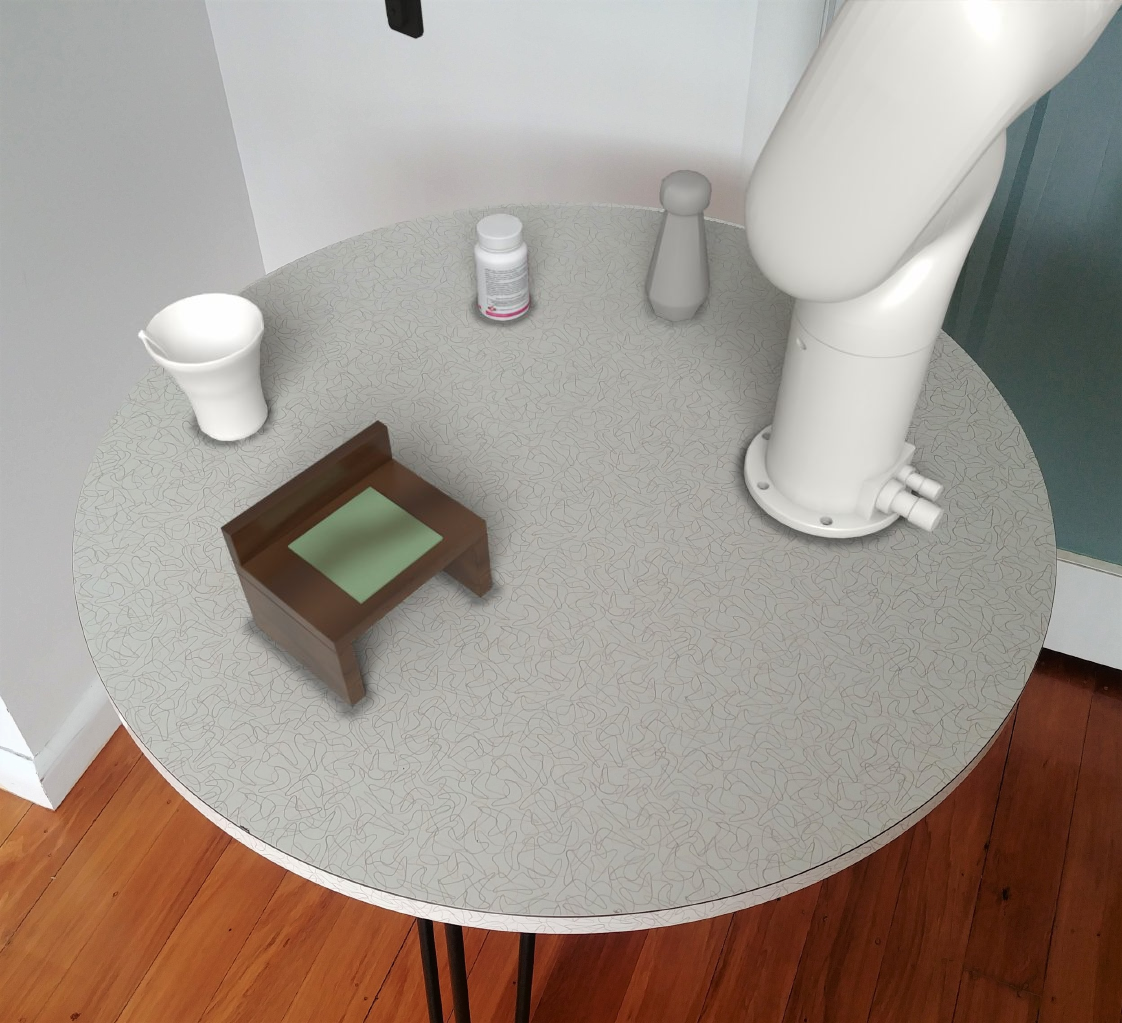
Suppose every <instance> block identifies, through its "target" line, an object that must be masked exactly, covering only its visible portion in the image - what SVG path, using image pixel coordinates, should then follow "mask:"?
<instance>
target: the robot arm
mask: <svg viewBox="0 0 1122 1023" xmlns="http://www.w3.org/2000/svg"><path fill="white" fill-rule="evenodd" d="M384 7H385V13H386V18H387V24H388V27H389V28H390V29H391V30H392V31H394V32H397V33H399V34H403V35H405V36H407V37H409V38H412V39H414V40H417V39H419V38H421V37H423V36H424V33H425V28H424V27H425V26H424V20H423V9H422V0H384ZM1121 7H1122V0H844V1H843V3H842V4H841V6H840V7H839V9H838V10H837V12H836V14H835V15H834V17H833V18H832V20H831V22H830V24H829V25H828V26H827V29H826V30H825V32H824V34H823V36H822V38H821V39H820V41H819V43H818V44H817V47H816V49H815V50H814V52H813V54H812V56H811V58H810V60H809V62H808V63H807V65H806V67H805V69H804V71H803V73H802V75H801V77H800V78H799V80H798V82H797V84H796V86H795V88H794V89H793V92H792V93H791V95H790V97H789V99H788V101H787V103H786V104H785V107H784V109H783V110H782V111H781V114H780V116H779V118H778V120H777V121H776V123H775V125H774V126H773V129H772V130H771V132H770V135H769V136H768V138H767V140H766V141H765V143H764V146H763V147H762V149H761V151H760V153H759V155H758V157H757V159H756V161H755V164H754V166H753V168H752V171H751V174H750V176H749V179H748V183H747V186H746V191H745V196H744V201H743V202H744V204H743V222H744V223H743V226H744V233H745V238H746V242H747V245H748V249H749V251H750V254H751V256H752V259H753V260H754V262H755V264H756V266H757V267H758V268H759V271H760V272H761V274H762V275H763V276H764V277H765V278H766V280H768V281H769V282H770V283H771V285H773V286H774V287H776V288H777V289H778V290H779V291H781V292H782V293H785V294H786V295H788V296H790V297H792V298H794V299H795V300H794V303H793V304H794V305H793V310H792V316H791V320H790V327H789V331H788V337H787V342H786V347H785V352H784V359H783V363H782V369H781V375H780V380H779V385H778V390H777V391H778V392H777V394H776V395H777V397H776V401H775V406H774V412H773V416H772V418H773V419H772V423H770V424H769V425H767V426H765V428H762V429H761V430H760V431H759V432H758V433H757V434H756V435H755V436H754V437H753V438H752V439H751V442H750V443H749V445H748V447H747V449H746V453H745V457H744V465H743V476H744V482H745V486H746V487H747V489H748V492H749V494H750V495H751V497H752V498H753V500H754V501H755V503H756V504H757V505H758V506H759V507H760V508H761V509H762V510H763V511H764V512H765V513H766V514H767V515H769V516H771V517H772V518H773V519H775V520H776V521H777V522H779V523H781V524H783V525H785V526H787V527H789V528H791V529H793V530H796V531H799V532H802V533H804V534H808V535H811V536H816V537H824V538H827V539H828V538H830V539H849V538H857V537H864V536H867V535H870V534H874V533H878V532H879V531H881V530H883V529H885V528H887V527H889V526H890V525H891V524H893V523H894V522H896V520H898V519H899V518H900V516H901V517H903V518H905V519H907V522H909V523H911V524H913V525H914V526H916V527H918V528H920V529H922V530H924V531H925V532H928V533H930V534H931V533H932V532H933V531H934V530H935V529H936V527H937V526H938V525H939V523H940V521H941V520H942V518H943V516H944V513H945V509H944V508H942V507H940V506H939V505H938V504H935V503H933V502H936V501H937V500H938V498H940V495H941V494H942V491H943V489H944V485H943V484H941V483H939V482H937V481H936V480H933V479H931V478H930V477H925V476H923V475H922V474H919V473H918V472H916V471H917V470H916V469H917V468H916V467H915V466H913V465H911V464H912V462H913V461H912V460H913V458H914V455H915V452H916V449H917V446H916V445H914V444H912V443H910V442H907V441H906V439H907V436H908V432H909V430H910V427H911V423H912V420H913V417H914V414H915V410H916V407H917V404H918V401H919V397H920V394H921V392H922V388H923V385H924V381H925V379H926V376H927V372H928V369H929V366H930V362H931V359H932V356H933V353H934V350H935V347H936V343H937V339H938V337H939V335H940V333H941V330H942V327H943V324H944V321H945V318H946V315H947V312H948V308H949V306H950V302H951V299H952V296H953V293H954V291H955V288H956V284H957V281H958V279H959V277H960V274H961V271H962V268H963V266H964V265H965V261H966V258H967V257H968V254H969V253H970V252H969V251H970V249H971V247H972V245H973V243H974V240H975V238H976V236H977V234H978V231H979V229H980V227H981V225H982V223H983V221H984V218H985V216H986V214H987V212H988V210H989V207H990V205H991V203H992V200H993V198H994V195H995V193H996V190H997V187H998V185H999V182H1000V179H1001V176H1002V172H1003V168H1004V164H1005V158H1006V153H1007V128H1008V127H1009V126H1010V125H1012V123H1013V122H1014V121H1015V120H1016V119H1017V118H1018V117H1019V116H1021V115H1022V114H1023V113H1024V112H1025V111H1027V110H1028V109H1029V108H1030V107H1031V106H1033V105H1034V104H1035V103H1036V102H1038V101H1039V100H1040V99H1041V98H1042V97H1043V96H1045V95H1046V94H1047V93H1048V92H1049V91H1050V90H1051V89H1053V88H1054V87H1055V86H1056V85H1057V84H1059V83H1060V82H1061V81H1062V80H1063V79H1064V78H1065V77H1067V76H1068V75H1069V74H1070V73H1071V72H1072V71H1073V70H1074V69H1075V68H1076V67H1077V66H1078V65H1080V63H1081V62H1082V61H1083V60H1084V58H1085V57H1086V56H1087V55H1088V53H1089V52H1090V51H1091V49H1092V48H1093V46H1094V45H1095V44H1096V43H1097V41H1098V39H1099V38H1100V36H1101V35H1102V34H1103V32H1104V30H1105V29H1106V28H1107V27H1108V25H1109V23H1110V22H1111V20H1112V19H1113V17H1114V16H1115V14H1116V13H1117V12H1118V10H1119V9H1120V8H1121ZM913 491H914V492H916V493H917V494H918V495H920V496H922V497H919V496H916V495H914V494H913V493H912V492H913ZM931 501H932V502H931Z"/></svg>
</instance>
